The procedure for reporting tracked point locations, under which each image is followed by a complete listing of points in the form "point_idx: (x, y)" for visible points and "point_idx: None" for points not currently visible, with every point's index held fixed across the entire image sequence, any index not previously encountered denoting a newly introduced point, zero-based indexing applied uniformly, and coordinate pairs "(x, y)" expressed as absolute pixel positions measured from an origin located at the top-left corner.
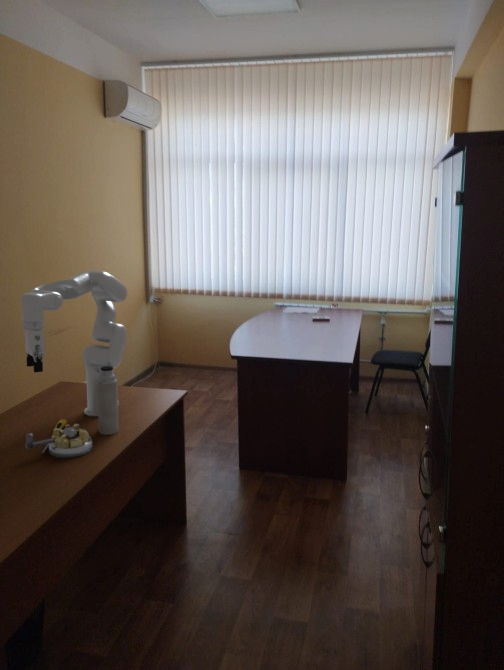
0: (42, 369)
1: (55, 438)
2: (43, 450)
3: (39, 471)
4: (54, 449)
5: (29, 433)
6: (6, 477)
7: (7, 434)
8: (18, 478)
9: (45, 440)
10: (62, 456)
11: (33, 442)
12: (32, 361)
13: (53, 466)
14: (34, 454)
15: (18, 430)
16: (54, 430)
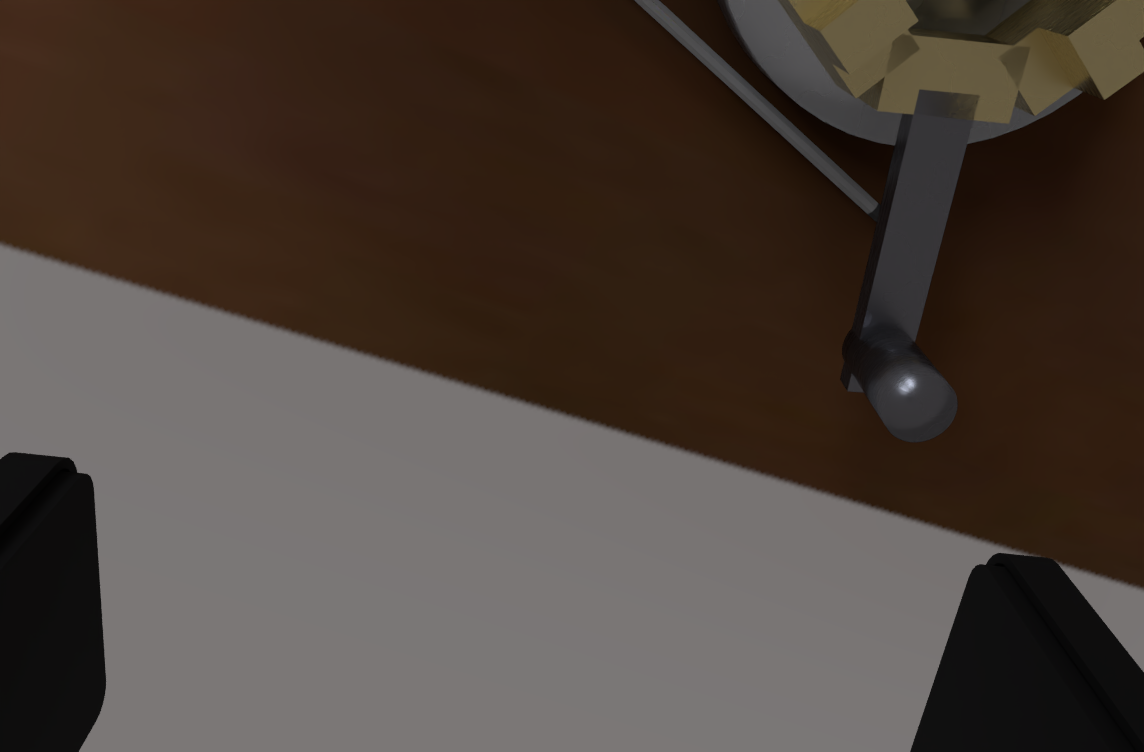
0: (1078, 602)
1: (949, 94)
2: (849, 188)
3: (1112, 334)
4: (997, 134)
5: (902, 401)
6: (998, 539)
7: (153, 273)
8: (1082, 486)
9: (914, 204)
10: None
11: (866, 317)
12: (12, 675)
13: (1130, 212)
14: (781, 245)
15: (96, 149)
16: (862, 63)
